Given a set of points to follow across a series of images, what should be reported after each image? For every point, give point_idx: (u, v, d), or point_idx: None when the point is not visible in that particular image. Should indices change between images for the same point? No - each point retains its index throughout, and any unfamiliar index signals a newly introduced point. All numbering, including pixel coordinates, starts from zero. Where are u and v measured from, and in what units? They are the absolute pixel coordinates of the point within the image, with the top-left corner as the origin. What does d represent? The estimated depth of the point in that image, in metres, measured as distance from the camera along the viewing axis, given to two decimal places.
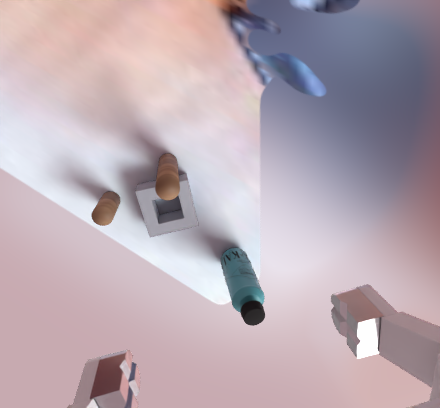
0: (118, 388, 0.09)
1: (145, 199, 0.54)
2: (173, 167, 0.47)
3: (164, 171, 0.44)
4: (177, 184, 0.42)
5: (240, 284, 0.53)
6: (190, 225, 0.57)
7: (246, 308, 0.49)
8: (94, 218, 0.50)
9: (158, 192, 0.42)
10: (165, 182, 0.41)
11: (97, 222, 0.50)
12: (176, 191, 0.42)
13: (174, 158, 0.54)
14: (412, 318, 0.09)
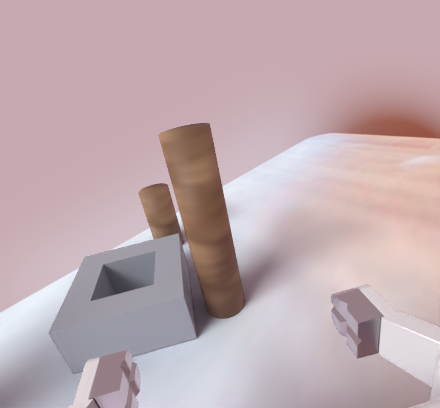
0: (118, 388, 0.09)
1: (160, 244, 0.29)
2: (222, 213, 0.21)
3: (217, 167, 0.21)
4: (190, 132, 0.18)
5: None
6: (64, 314, 0.22)
7: None
8: (153, 185, 0.36)
9: (179, 127, 0.21)
10: (198, 126, 0.20)
11: (146, 187, 0.35)
12: (174, 134, 0.18)
13: (235, 292, 0.24)
14: (412, 318, 0.09)
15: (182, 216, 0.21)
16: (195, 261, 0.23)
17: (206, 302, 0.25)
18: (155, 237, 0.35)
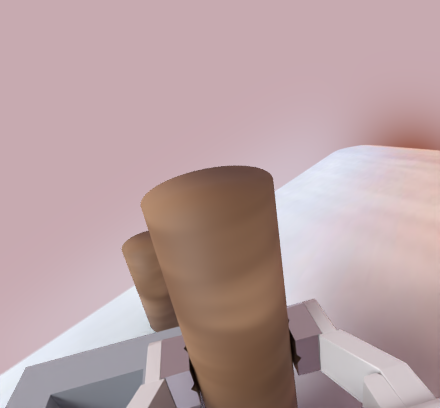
0: (187, 369, 0.09)
1: None
2: (287, 371, 0.09)
3: None
4: (228, 206, 0.06)
5: None
6: None
7: None
8: (145, 233, 0.24)
9: (193, 174, 0.09)
10: (241, 178, 0.08)
11: (134, 237, 0.23)
12: (182, 209, 0.07)
13: None
14: (349, 336, 0.09)
15: (196, 373, 0.09)
16: None
17: None
18: (147, 312, 0.24)
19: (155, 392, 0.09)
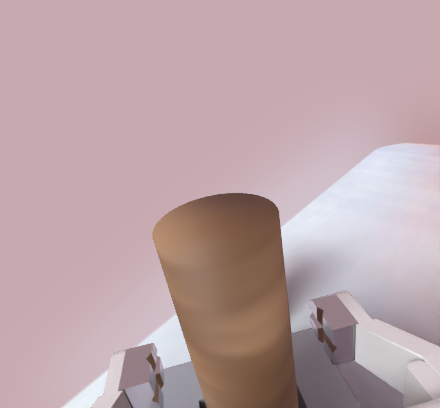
0: (147, 380, 0.09)
1: None
2: (291, 390, 0.10)
3: None
4: (237, 243, 0.07)
5: None
6: None
7: None
8: None
9: (201, 202, 0.09)
10: (248, 209, 0.08)
11: None
12: (193, 245, 0.07)
13: None
14: (386, 325, 0.09)
15: (203, 392, 0.10)
16: None
17: None
18: None
19: (111, 404, 0.08)
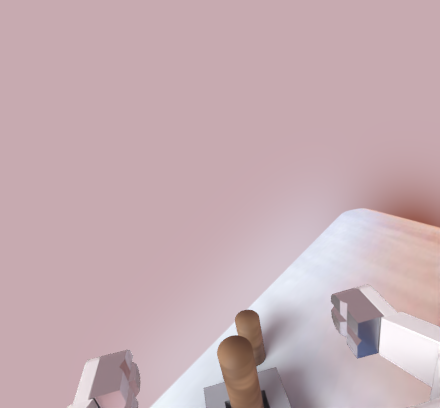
0: (118, 388, 0.09)
1: (265, 381, 0.37)
2: (258, 398, 0.30)
3: None
4: (241, 363, 0.27)
5: None
6: None
7: None
8: (244, 312, 0.43)
9: (229, 339, 0.30)
10: (244, 347, 0.29)
11: (239, 314, 0.43)
12: (230, 362, 0.28)
13: None
14: (412, 318, 0.09)
15: (230, 399, 0.30)
16: None
17: None
18: None
19: None
